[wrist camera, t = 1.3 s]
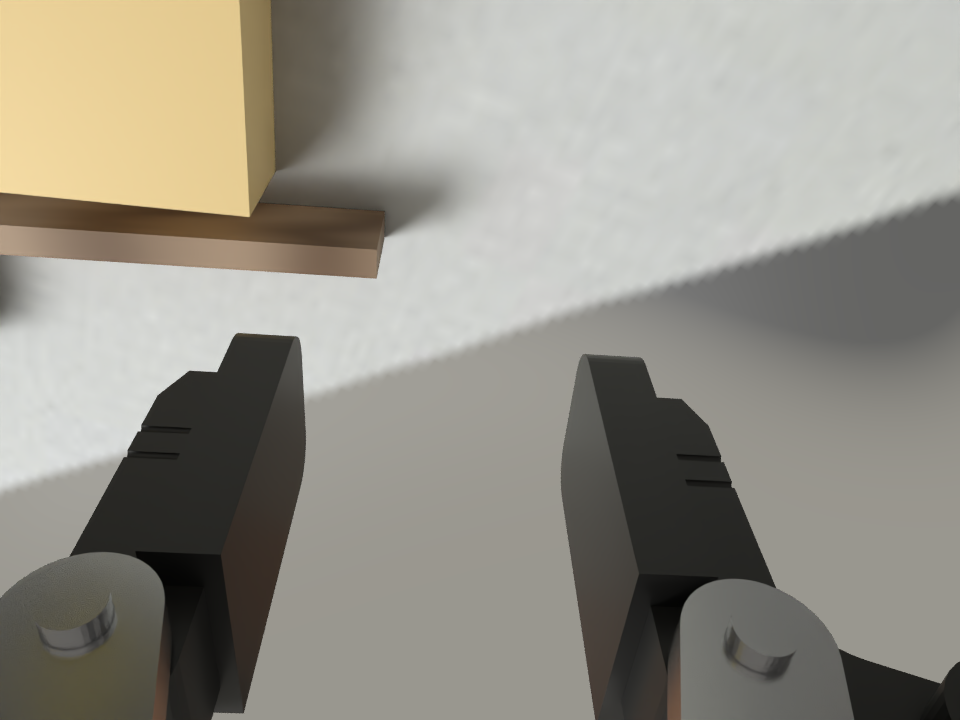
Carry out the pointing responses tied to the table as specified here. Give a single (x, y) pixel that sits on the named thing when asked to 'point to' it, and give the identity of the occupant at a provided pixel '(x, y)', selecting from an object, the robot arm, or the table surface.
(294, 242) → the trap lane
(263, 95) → the block
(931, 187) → the table surface
